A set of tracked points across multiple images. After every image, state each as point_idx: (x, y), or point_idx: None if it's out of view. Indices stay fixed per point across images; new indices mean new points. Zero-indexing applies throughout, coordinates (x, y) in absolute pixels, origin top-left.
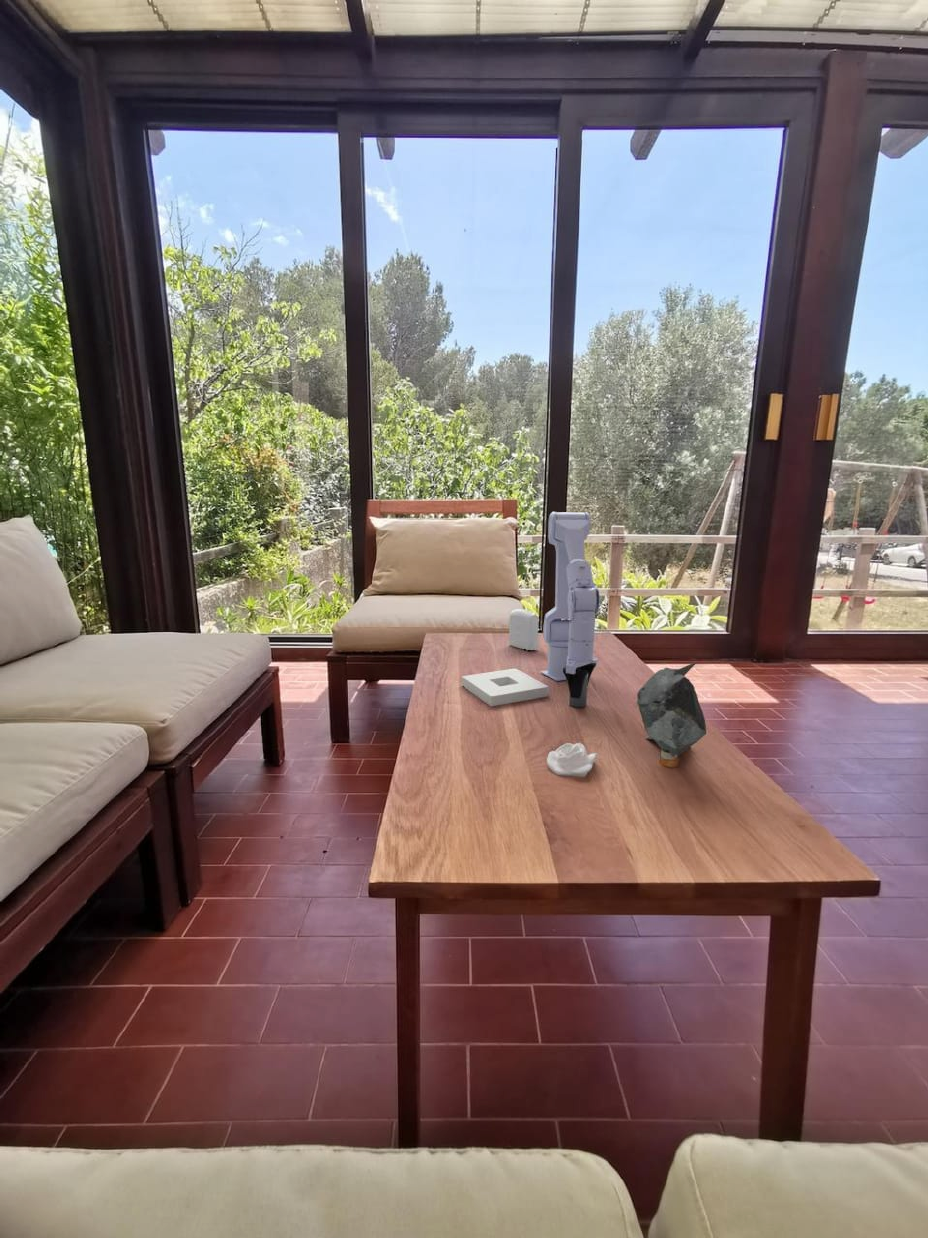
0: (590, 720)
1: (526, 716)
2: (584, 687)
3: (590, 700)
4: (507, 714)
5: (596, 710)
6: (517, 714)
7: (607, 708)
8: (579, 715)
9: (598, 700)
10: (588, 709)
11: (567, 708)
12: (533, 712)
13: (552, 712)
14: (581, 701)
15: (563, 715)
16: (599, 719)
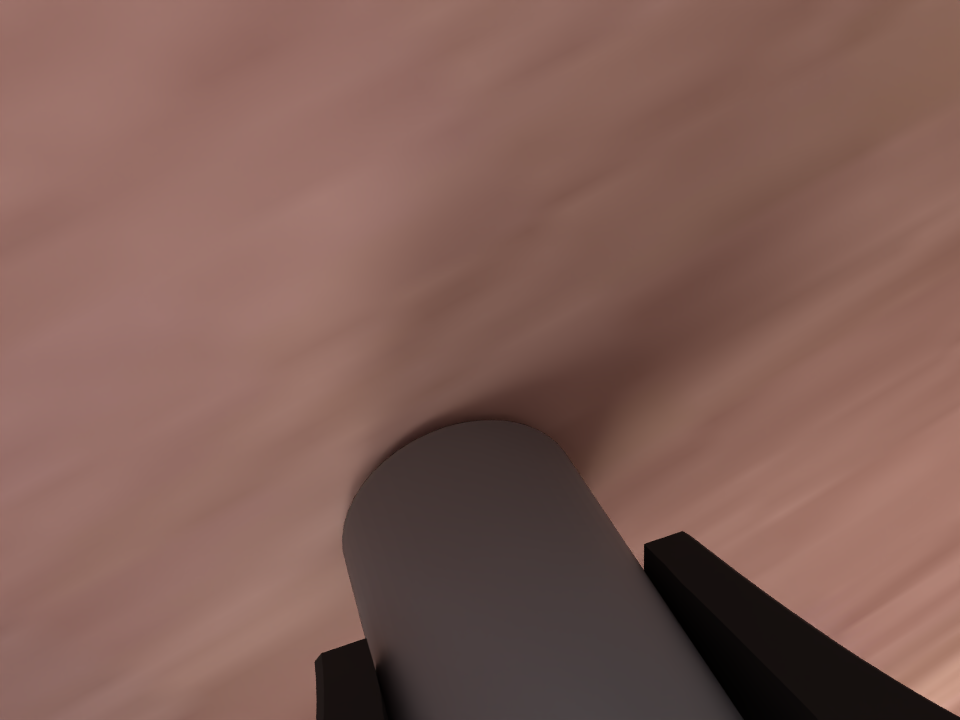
0: (885, 108)
1: (956, 598)
2: (674, 676)
3: (137, 520)
4: (953, 686)
5: (482, 236)
6: (935, 655)
7: (268, 137)
8: (773, 308)
9: (18, 448)
10: (514, 341)
11: (624, 520)
12: (858, 623)
13: (800, 539)
14: (582, 493)
15: (838, 428)
16: (809, 13)
